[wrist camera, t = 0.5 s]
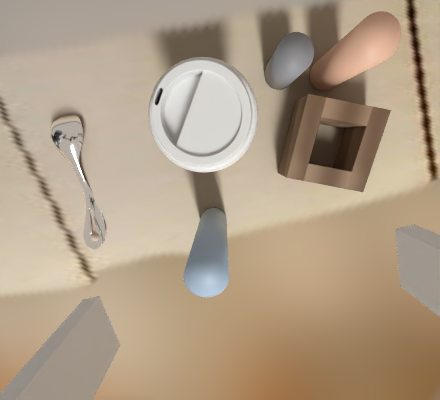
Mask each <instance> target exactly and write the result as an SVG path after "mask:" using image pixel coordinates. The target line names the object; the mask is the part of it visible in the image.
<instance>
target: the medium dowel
mask: <svg viewBox="0 0 440 400" xmlns="http://www.w3.org/2000/svg"><path fill="white" fill-rule="evenodd" d="M400 39H401V27H400V24H399V22H398V20H397V19H396V18H395V17H394V16H393V15H392V14H390V13H388V12H375V13H373V14H371V15H369V16H367V17H366V18H365V19H364V20H363V21H362V22H360V23H359V24H358V25H357V26H356V27H355V28H354V29H353V30H351V31H350V32H349V33H348V34H347V35H346V36H345V37H344V38H342V39H341V40H340V41H339V42H338V43H337V44H336V45H335V46H333V47H332V48H331V49H330V50H329V51H328V52H327V53H326V54H324V55H323V56H322V57H321V58H320V59H319V60H318V61H317V62H316V63H315V64H314V65H313V66H312V68H311V71H310V80H311V83H312V85H313V86H314V87H315V88H316V89H318V90H329V89H331V88H333V87H335V86H337V85H338V84H340V83H342V82H344V81H346V80H348V79H350V78H352V77H354V76H356V75H358V74H360V73H362V72H363V71H365V70H367V69H369V68H371V67H373V66H375V65H377V64H379V63H381V62H383V61H385V60H386V59H388V58H389V57H390V56H391V55H393V53H394V52H395V51H396V49H397V47H398V45H399V43H400Z"/></svg>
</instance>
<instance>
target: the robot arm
mask: <svg viewBox="0 0 440 400" xmlns="http://www.w3.org/2000/svg"><path fill="white" fill-rule="evenodd" d="M396 241H397V253H398V264H399V275H400V286H401V287H402V288H404V289H405V290H406V291H407V292H409V293H410V294H411V295H413V296H414V297H415V298H416V299H417V300H419V301H420V302H421V303H422V304H424V305H425V306H427V308H429V309H430V310H431V311H433V312H434V313H435V314H436V315H438V316H439V317H440V235H438V234H436V233H434V232H431V231H429V230H426V229H424V228H422V227H419V226H417V225H410V226H406V227H401V228H397V229H396ZM119 347H120V343H119V341H118V339H117V337H116V334H115V332H114V329H113V327H112V325H111V322H110V320H109V318H108V316H107V313H106V311H105V308H104V306H103V304H102V301H101V299H100V297H99V296H97V297H93V298H89V299H84V300H83V301H82V302H81V303H80V304H79V305H78V306H77V308H75V310H74V311H73V312H72V313H71V314H70V315H69V316H68V318H67V319H66V320H65V321H64V322H63V323H62V324H61V326H60V327H59V328H58V329H57V330H56V331H55V332H54V333H53V334H52V336H51V337H50V338H49V339H48V340H47V341H46V342H45V343H44V345H43V346H42V347H41V348H40V349H39V350H38V351H37V353H36V354H35V355H34V356H33V357H32V358H31V359H30V361H28V363H27V364H26V365H25V366H24V367H23V368H22V369H21V371H20V372H19V373H18V374H17V375H16V376H15V377H14V378H13V380H12V381H11V382H10V383H9V384H8V385H7V386H6V388H5V389H4V390H3V391H2V392H1V393H0V400H93V398H94V396H95V394H96V392H97V390H98V388H99V386H100V384H101V382H102V380H103V378H104V376H105V374H106V372H107V370H108V368H109V366H110V364H111V362H112V360H113V358H114V356H115V354H116V352H117V350H118V348H119Z"/></svg>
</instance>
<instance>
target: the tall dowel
mask: <svg viewBox="0 0 440 400" xmlns="http://www.w3.org/2000/svg"><path fill="white" fill-rule="evenodd" d="M228 271H229V270H228V245H227V221H226V216H225V214H224V212H223V211H222V210H220V209H218V208H209V209H207V210H205V211H204V212H203V214H202V216H201V219H200V222H199V225H198V229H197V232H196V235H195V238H194V242H193V245H192V248H191V251H190V255H189V258H188V261H187V265H186V268H185V272H184V282H185V284H186V286H187V288H188V289H189V290H190V291H191V292H192V293H194V294H196V295H198V296H202V297H212V296H215V295H218V294H219V293H221V292H222V291H223V290H224V289H225V288H226V286H227V284H228V280H229V272H228Z"/></svg>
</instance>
